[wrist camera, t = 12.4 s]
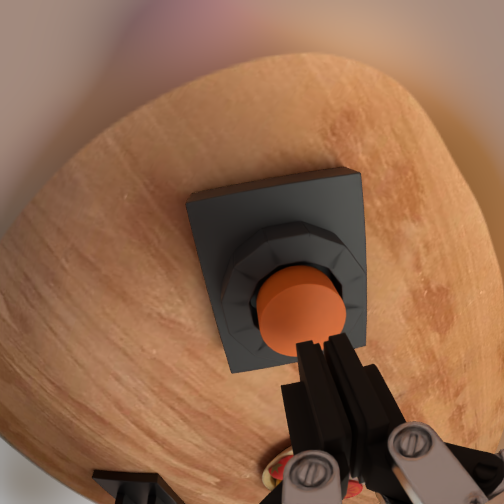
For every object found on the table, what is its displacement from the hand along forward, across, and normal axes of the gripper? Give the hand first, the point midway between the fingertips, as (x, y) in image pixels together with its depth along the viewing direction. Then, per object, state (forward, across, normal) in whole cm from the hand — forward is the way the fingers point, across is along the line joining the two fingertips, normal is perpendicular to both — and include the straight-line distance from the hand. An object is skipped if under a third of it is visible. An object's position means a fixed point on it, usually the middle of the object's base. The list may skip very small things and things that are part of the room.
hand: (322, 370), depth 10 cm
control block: (+8, 0, 0) cm, 8 cm away
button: (+4, 0, 0) cm, 4 cm away
